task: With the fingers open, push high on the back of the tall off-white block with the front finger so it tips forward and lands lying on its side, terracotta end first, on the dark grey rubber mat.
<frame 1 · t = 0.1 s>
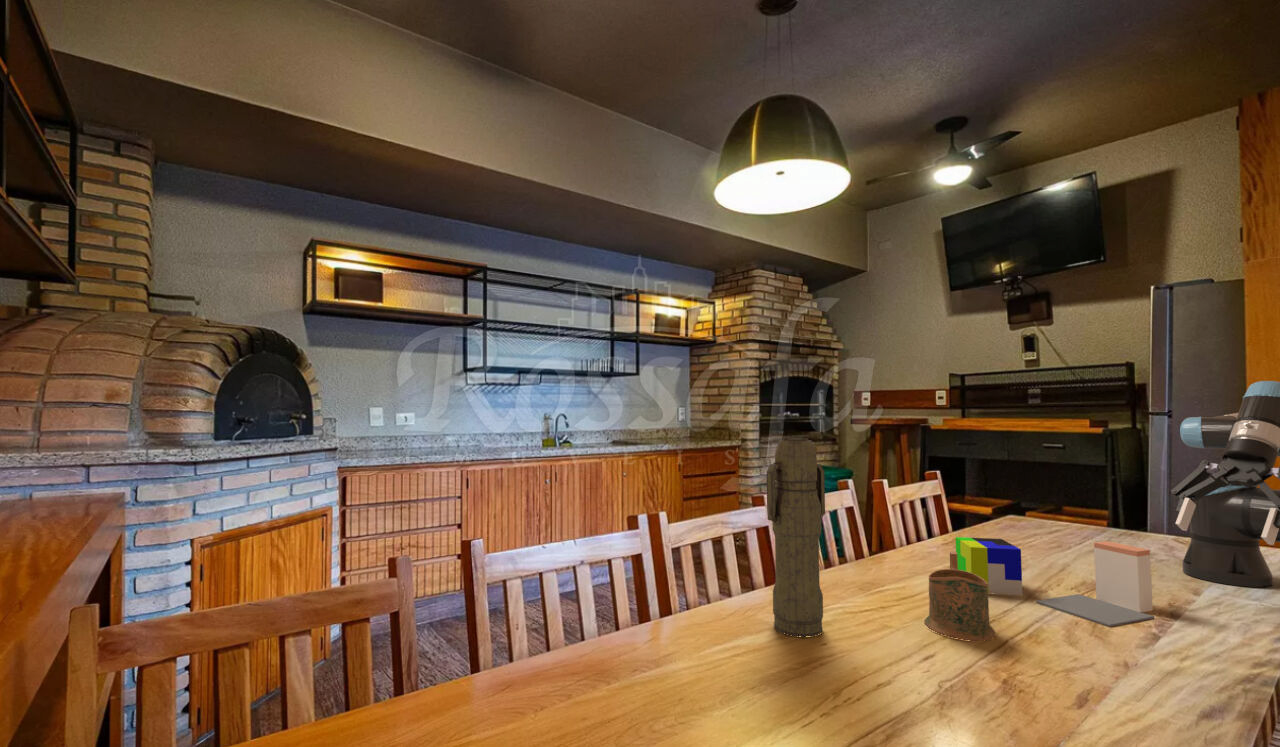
hand: (1221, 534, 116), 15 cm above the table, tool tilted 35°, fingers open, 13 cm apart
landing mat: (1092, 610, 116), on the table
puzzle toy: (988, 588, 131), on the table
thermos: (798, 629, 107), on the table
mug: (957, 624, 109), on the table
tall block: (1123, 605, 119), on the table
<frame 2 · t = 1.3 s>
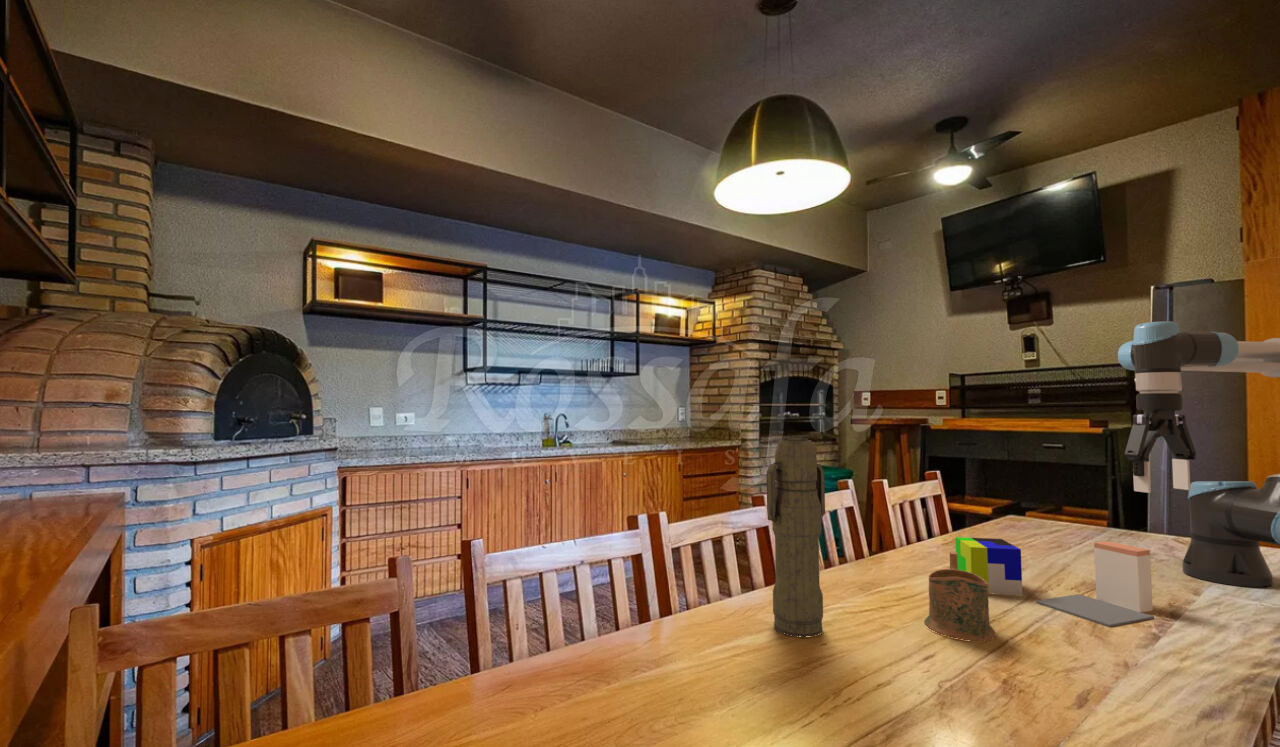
hand: (1162, 490, 125), 23 cm above the table, tool pointing down, fingers open, 13 cm apart
nothing on the table moved.
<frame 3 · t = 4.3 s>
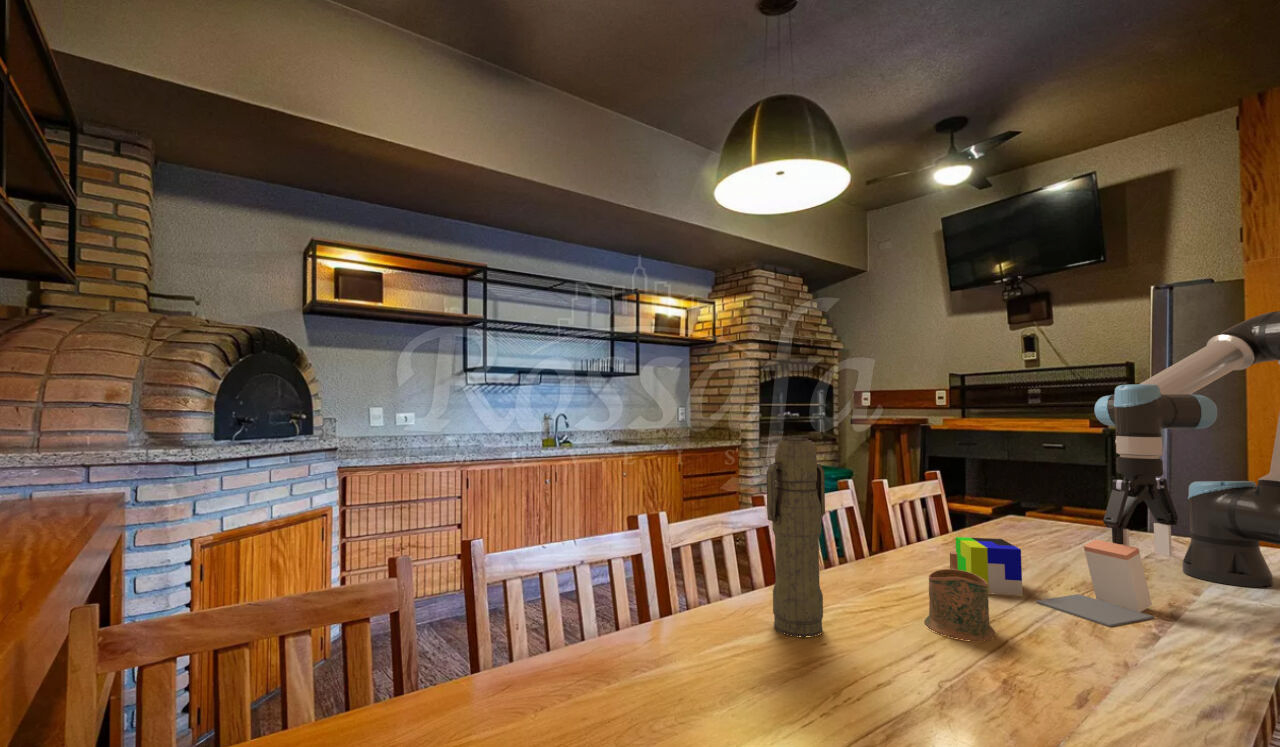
hand: (1142, 557, 122), 9 cm above the table, tool pointing down, fingers open, 13 cm apart
tall block: (1123, 602, 119), point 1 cm above the table, tilted 16°
everything else where it was.
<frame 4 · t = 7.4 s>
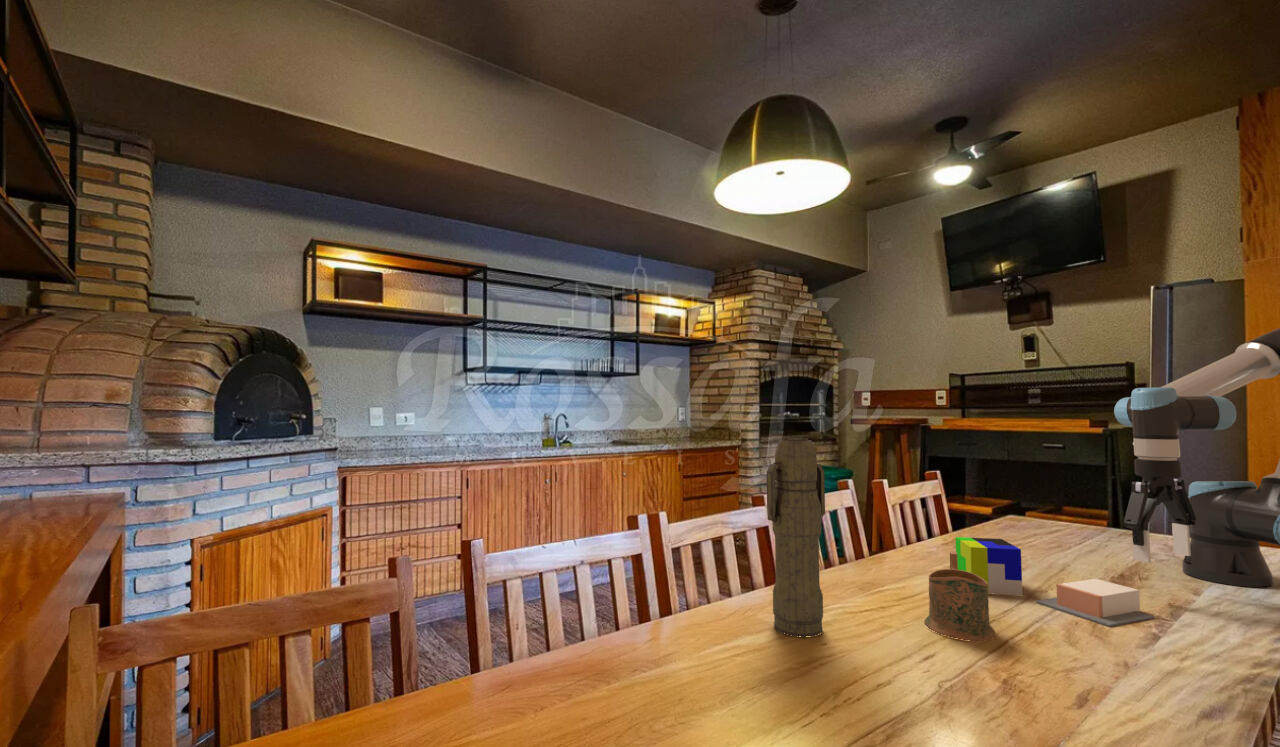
hand: (1162, 557, 124), 8 cm above the table, tool pointing down, fingers open, 13 cm apart
tall block: (1117, 594, 119), point 2 cm above the table, tilted 90°, touching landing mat
everything else where it was.
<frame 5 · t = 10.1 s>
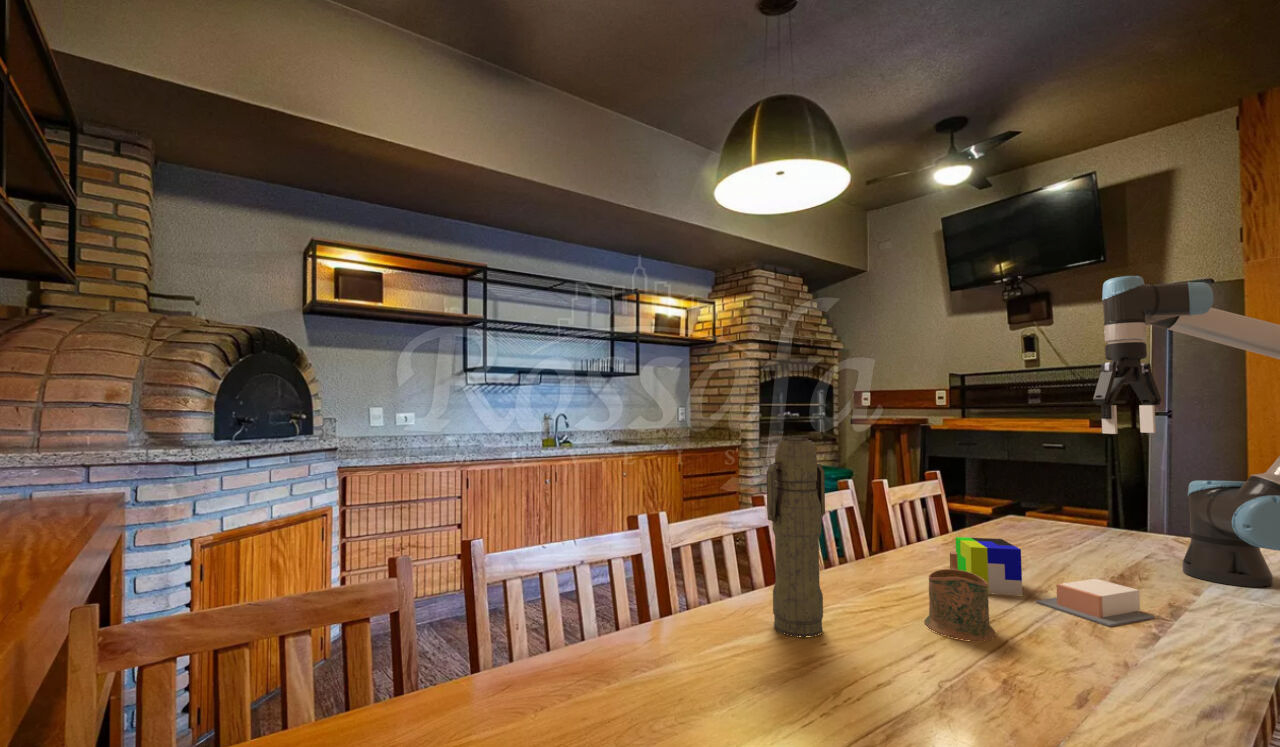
hand: (1129, 433, 135), 35 cm above the table, tool pointing down, fingers open, 13 cm apart
nothing on the table moved.
at the end: tall block tilted 90°; tall block touching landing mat; the gripper is holding nothing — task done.
